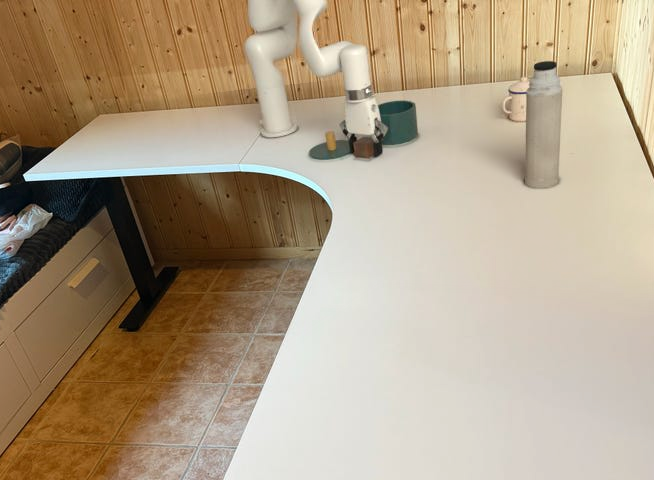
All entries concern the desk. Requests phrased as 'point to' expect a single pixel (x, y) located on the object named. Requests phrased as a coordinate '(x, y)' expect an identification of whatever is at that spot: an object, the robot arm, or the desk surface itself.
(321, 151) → the lid
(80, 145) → the desk surface
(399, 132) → the tin
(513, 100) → the teacup with lid
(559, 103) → the thermos bottle
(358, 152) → the block
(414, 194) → the desk surface
